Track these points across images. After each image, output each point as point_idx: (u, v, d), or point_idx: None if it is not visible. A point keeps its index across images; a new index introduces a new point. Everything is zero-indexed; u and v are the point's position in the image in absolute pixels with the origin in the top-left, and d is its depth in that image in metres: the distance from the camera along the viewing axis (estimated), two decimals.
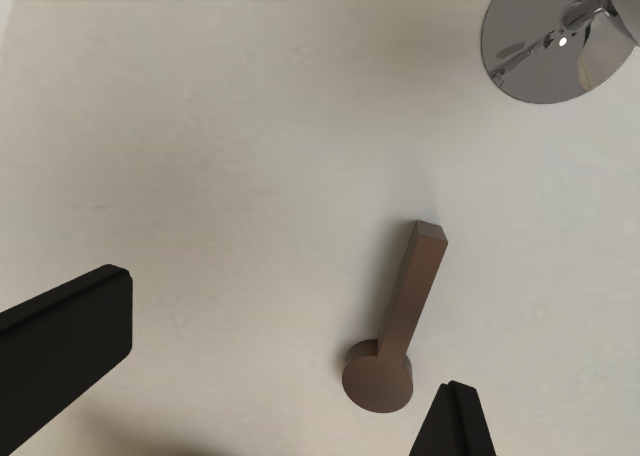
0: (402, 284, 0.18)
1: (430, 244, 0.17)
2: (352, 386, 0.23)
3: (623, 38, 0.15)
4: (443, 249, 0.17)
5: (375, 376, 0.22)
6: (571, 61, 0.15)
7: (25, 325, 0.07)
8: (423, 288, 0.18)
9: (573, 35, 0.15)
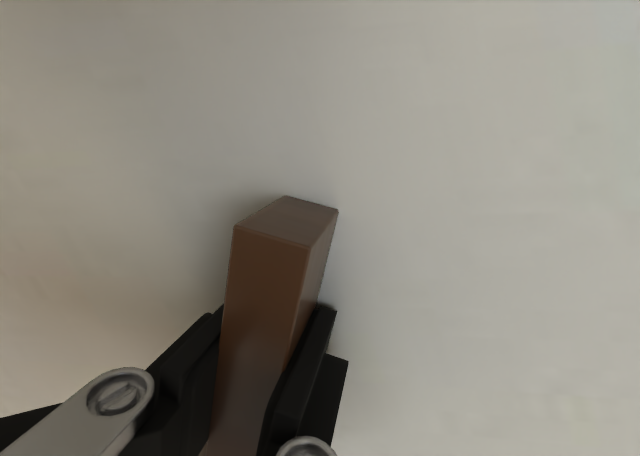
0: (220, 355, 0.07)
1: (265, 254, 0.06)
2: None
3: None
4: (299, 268, 0.06)
5: None
6: None
7: (217, 343, 0.07)
8: (266, 368, 0.07)
9: None
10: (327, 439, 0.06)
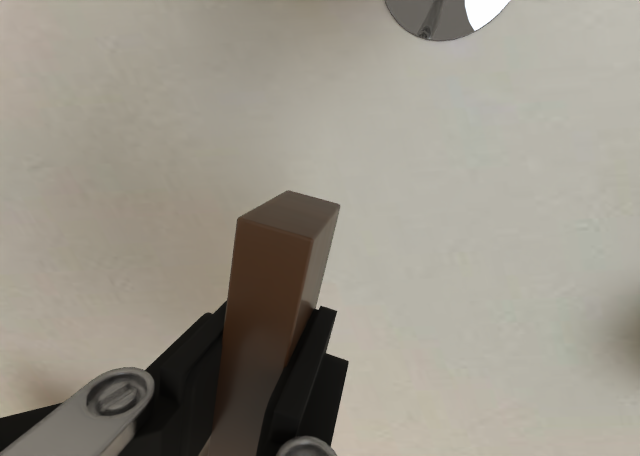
0: (223, 346, 0.07)
1: (268, 246, 0.06)
2: None
3: None
4: (302, 260, 0.06)
5: None
6: None
7: (217, 343, 0.07)
8: (269, 360, 0.07)
9: None
10: (327, 439, 0.06)
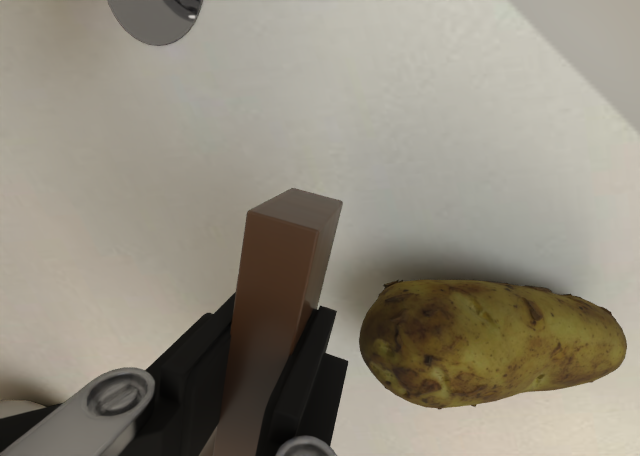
0: (231, 335, 0.08)
1: (276, 237, 0.07)
2: None
3: None
4: (308, 250, 0.06)
5: None
6: (157, 6, 0.19)
7: (217, 343, 0.07)
8: (276, 347, 0.07)
9: None
10: (327, 439, 0.06)
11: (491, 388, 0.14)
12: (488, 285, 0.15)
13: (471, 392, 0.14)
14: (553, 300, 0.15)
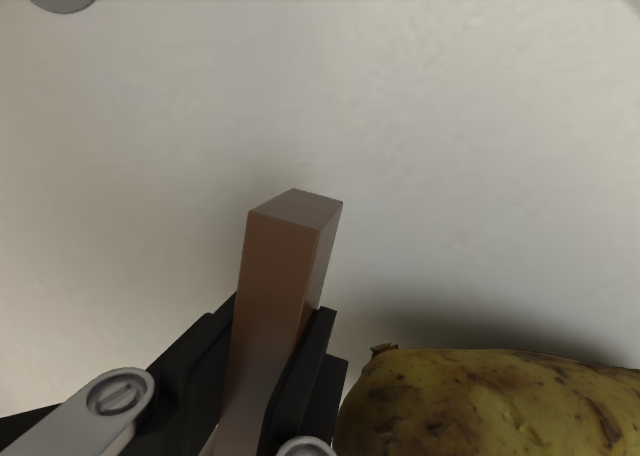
0: (232, 335, 0.08)
1: (277, 237, 0.07)
2: None
3: None
4: (309, 251, 0.06)
5: None
6: None
7: (217, 343, 0.07)
8: (276, 347, 0.07)
9: None
10: (327, 439, 0.06)
11: None
12: (529, 372, 0.10)
13: None
14: (630, 397, 0.10)
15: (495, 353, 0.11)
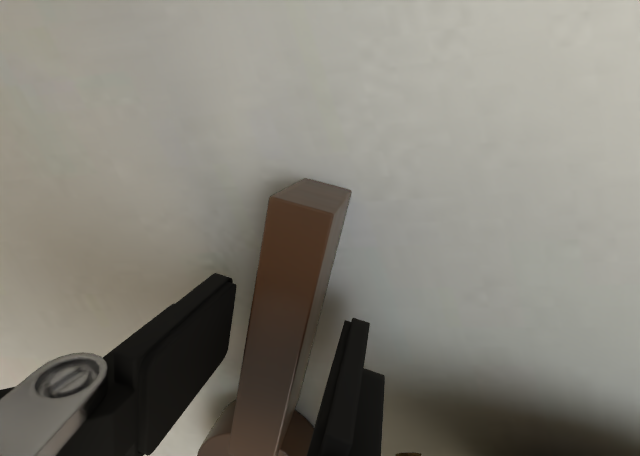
0: (252, 310, 0.09)
1: (295, 220, 0.07)
2: None
3: None
4: (324, 231, 0.07)
5: None
6: None
7: (176, 331, 0.07)
8: (293, 320, 0.08)
9: None
10: None
11: None
12: None
13: None
14: None
15: None
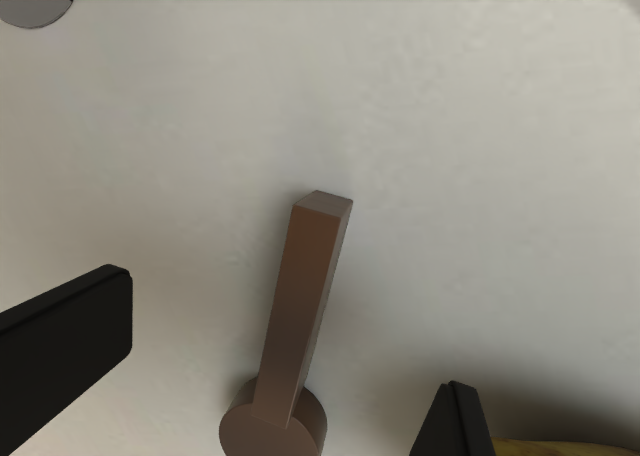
0: (276, 293, 0.11)
1: (312, 222, 0.10)
2: (234, 447, 0.15)
3: None
4: (333, 231, 0.10)
5: (264, 434, 0.14)
6: None
7: (25, 325, 0.07)
8: (308, 300, 0.11)
9: None
10: None
11: None
12: None
13: None
14: None
15: None
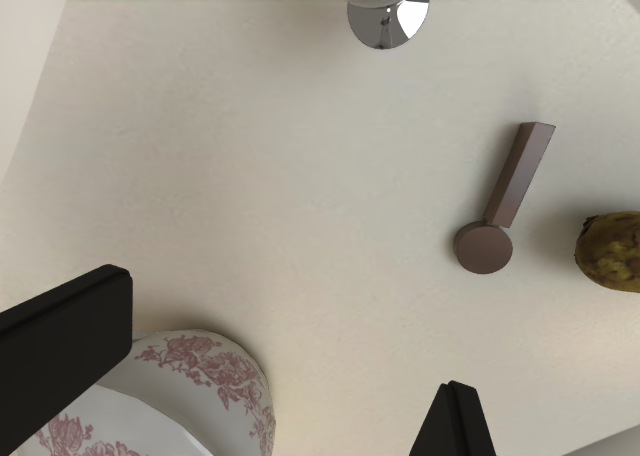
0: (518, 161, 0.27)
1: (542, 128, 0.25)
2: (464, 253, 0.31)
3: (418, 9, 0.27)
4: (552, 131, 0.25)
5: (484, 243, 0.30)
6: (392, 23, 0.28)
7: (25, 325, 0.07)
8: (534, 162, 0.26)
9: (389, 8, 0.27)
10: None
11: None
12: None
13: None
14: None
15: None
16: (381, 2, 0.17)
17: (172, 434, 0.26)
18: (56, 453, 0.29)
